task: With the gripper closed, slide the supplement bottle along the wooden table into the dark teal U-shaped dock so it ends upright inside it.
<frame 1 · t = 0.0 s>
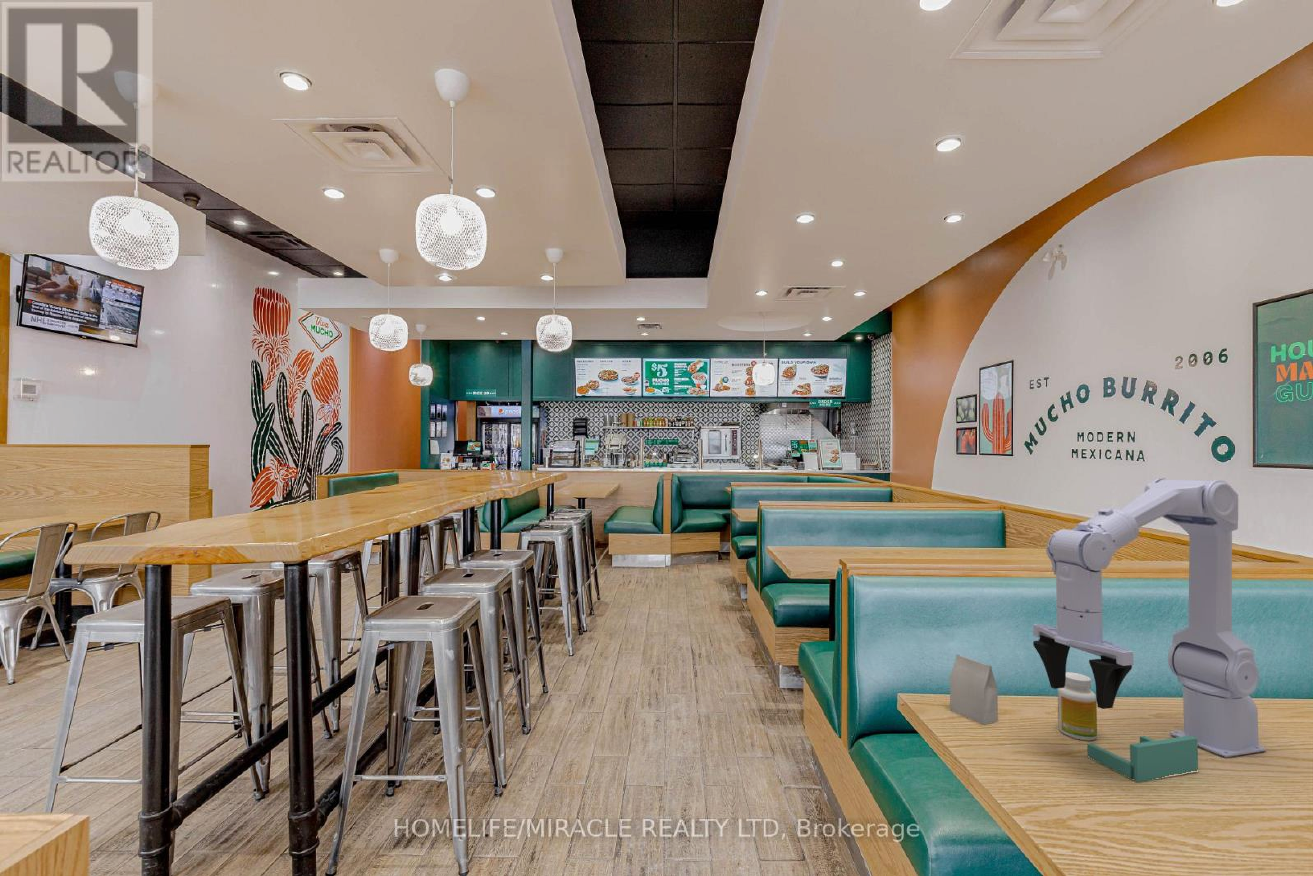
hand: (1080, 697, 89), 10 cm above the table, tool pointing down, fingers open, 7 cm apart
tea bag: (973, 717, 105), on the table
dock: (1139, 763, 89), on the table
supplement bottle: (1077, 735, 98), on the table
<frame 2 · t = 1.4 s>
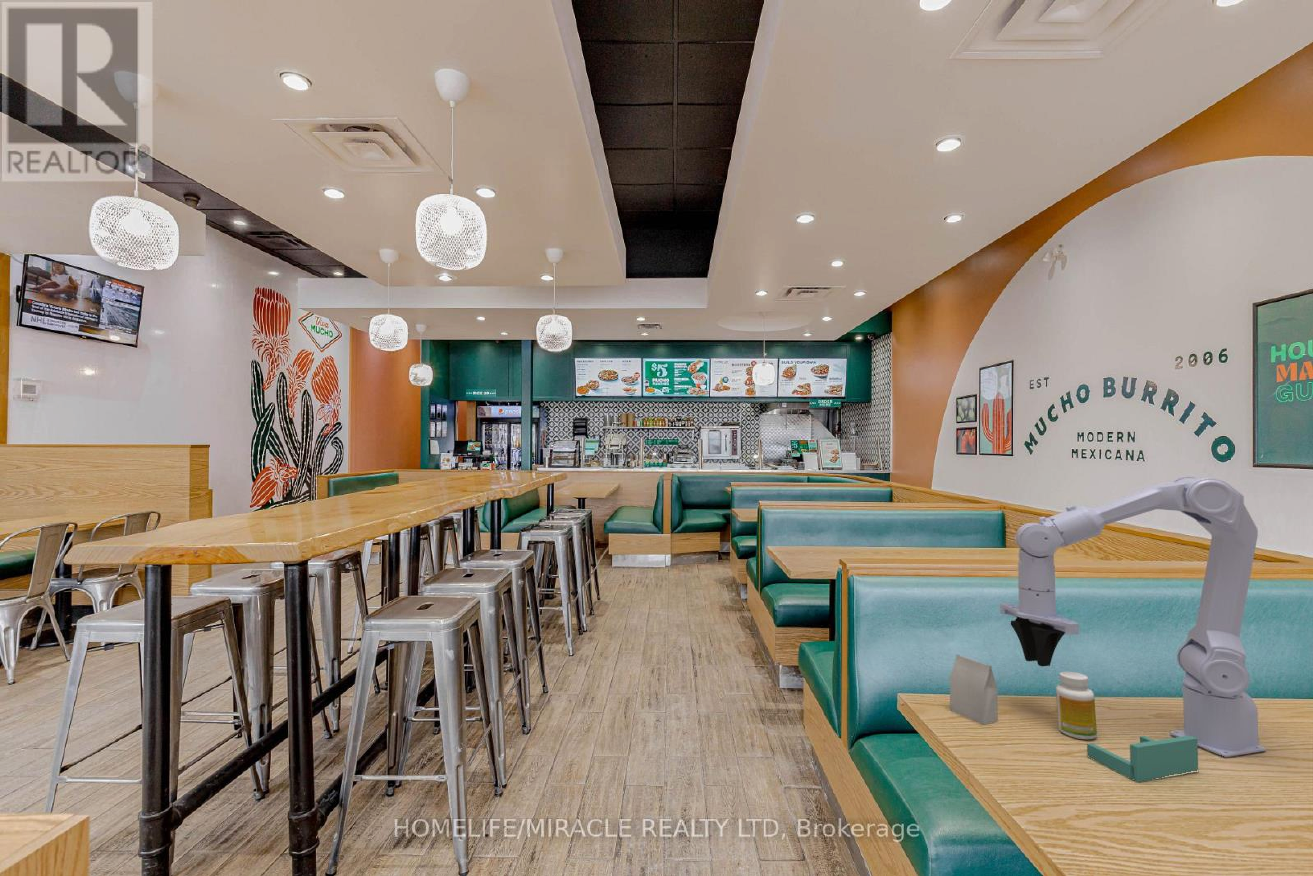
hand: (1037, 663, 106), 9 cm above the table, tool pointing down, fingers closed
nothing on the table moved.
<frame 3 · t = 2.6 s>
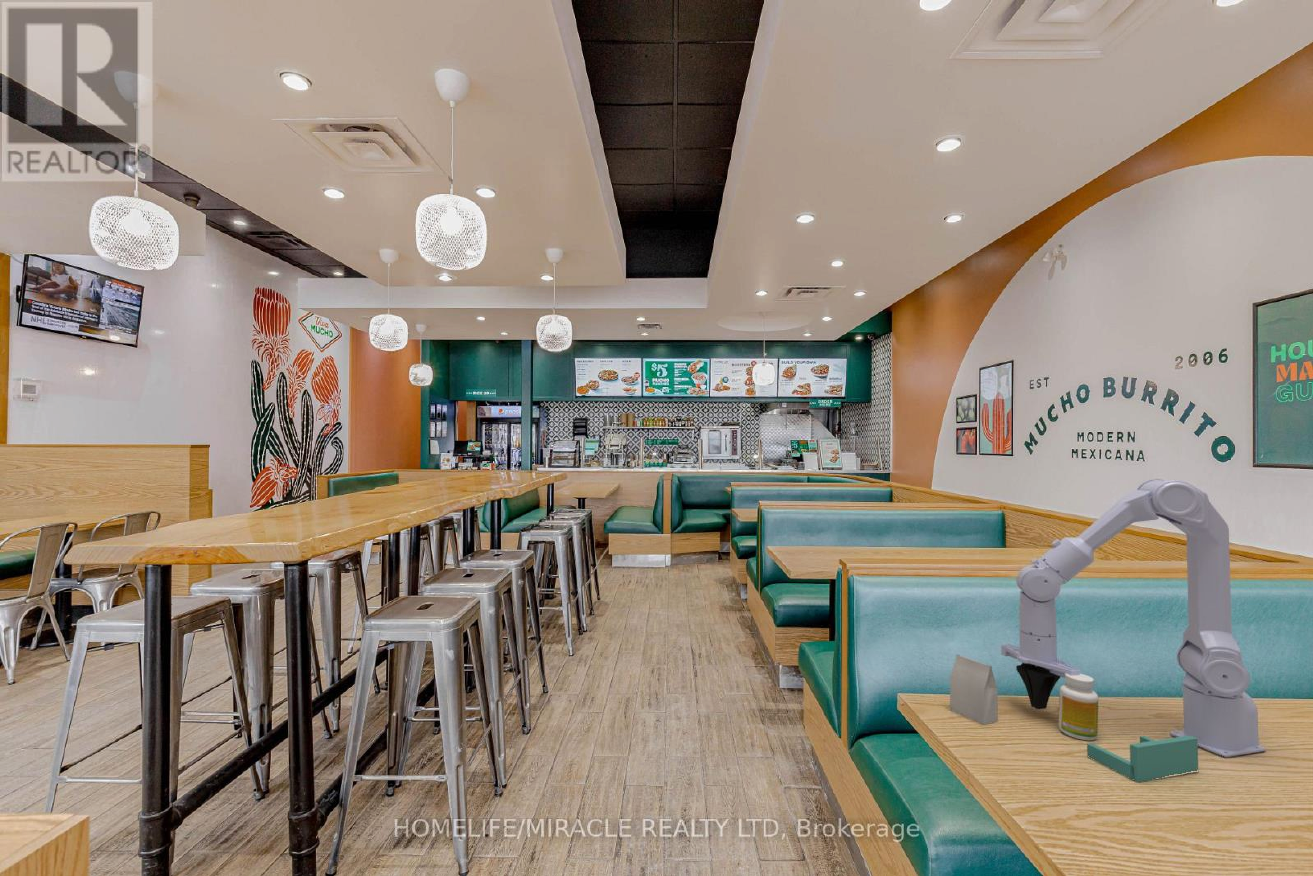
hand: (1038, 707, 106), 1 cm above the table, tool pointing down, fingers closed
nothing on the table moved.
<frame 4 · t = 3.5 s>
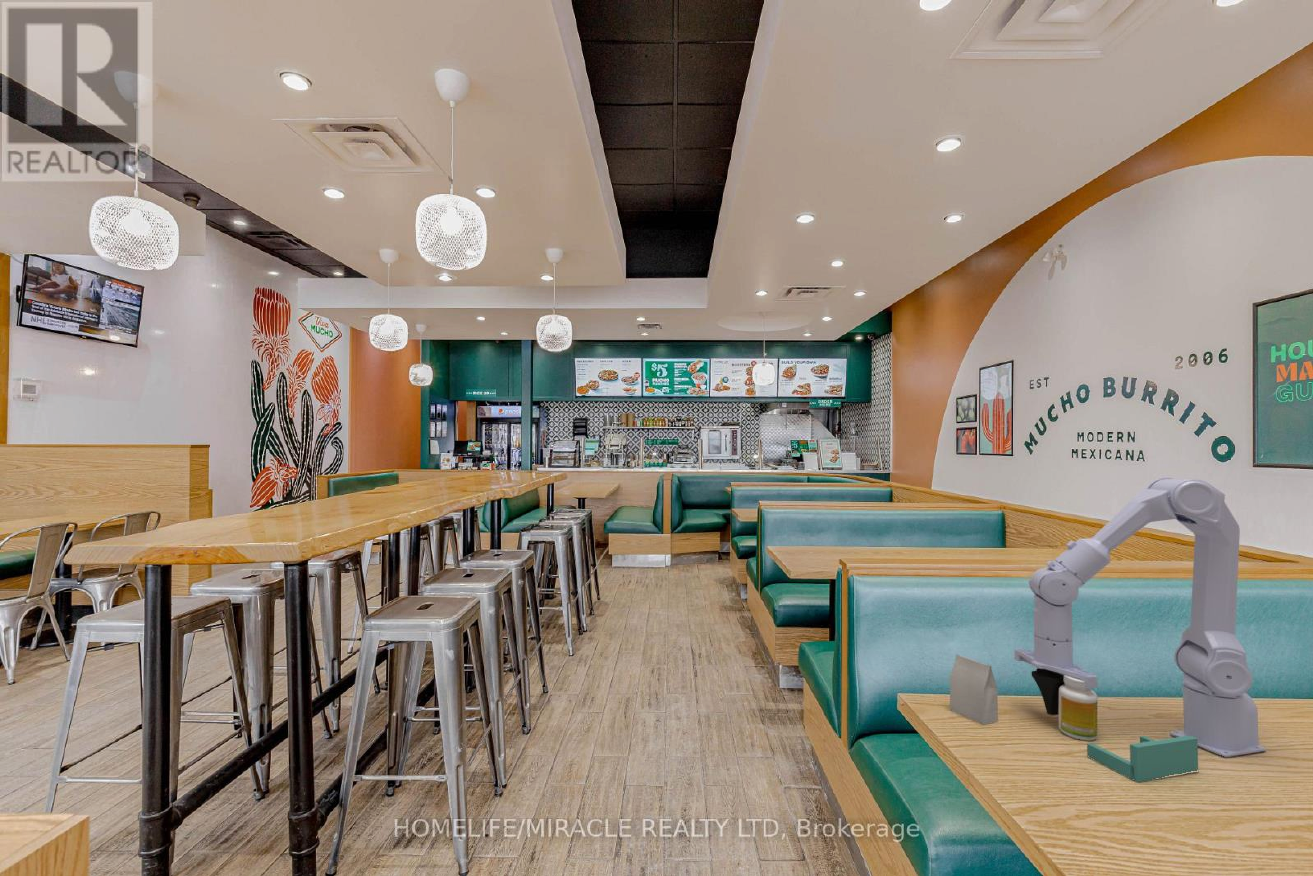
hand: (1053, 714, 103), 1 cm above the table, tool pointing down, fingers closed
supplement bottle: (1077, 734, 98), on the table, touching gripper
everything else where it was.
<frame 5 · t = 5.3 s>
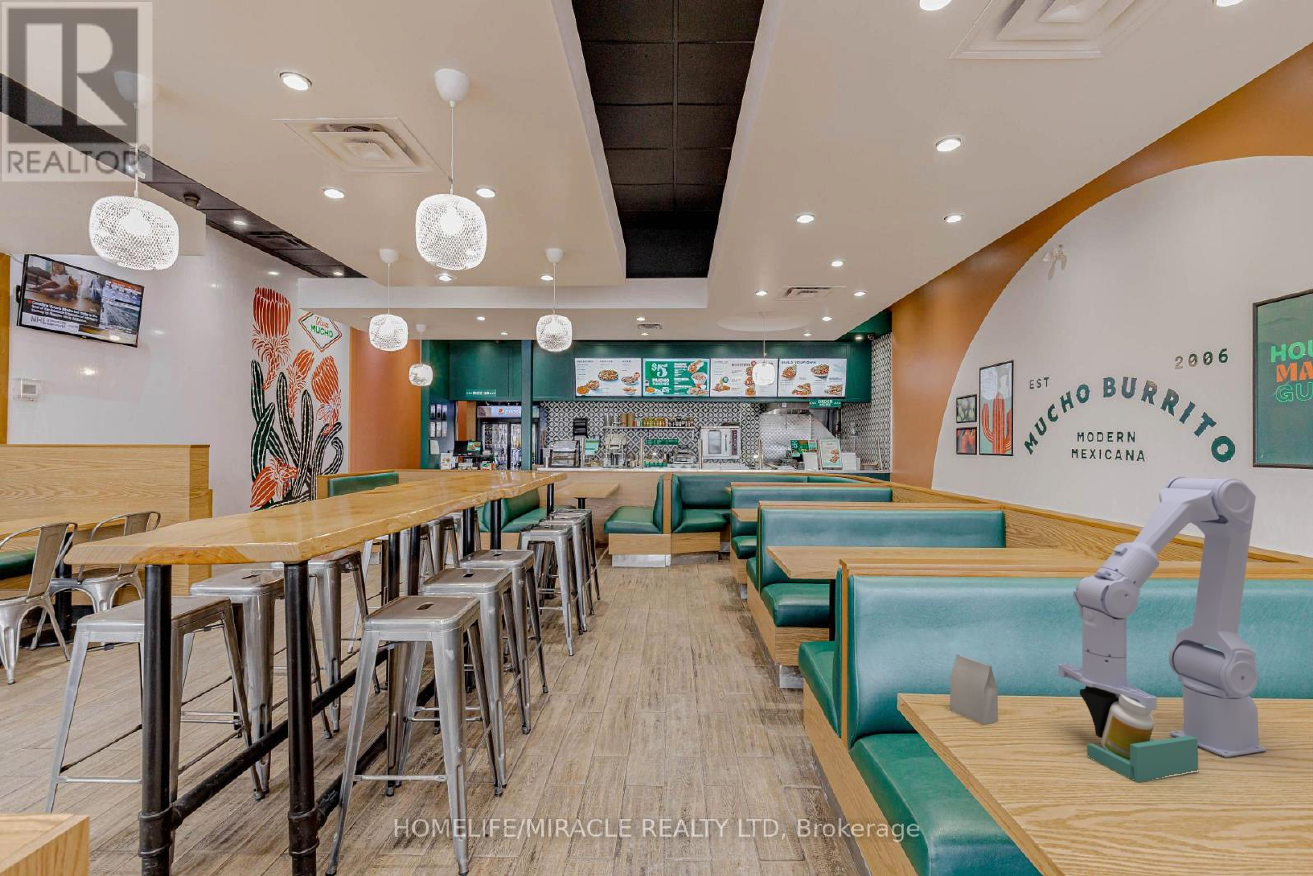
hand: (1103, 736, 94), 2 cm above the table, tool pointing down, fingers closed, pressing on supplement bottle
supplement bottle: (1121, 752, 91), point 1 cm above the table, touching gripper
everything else where it was.
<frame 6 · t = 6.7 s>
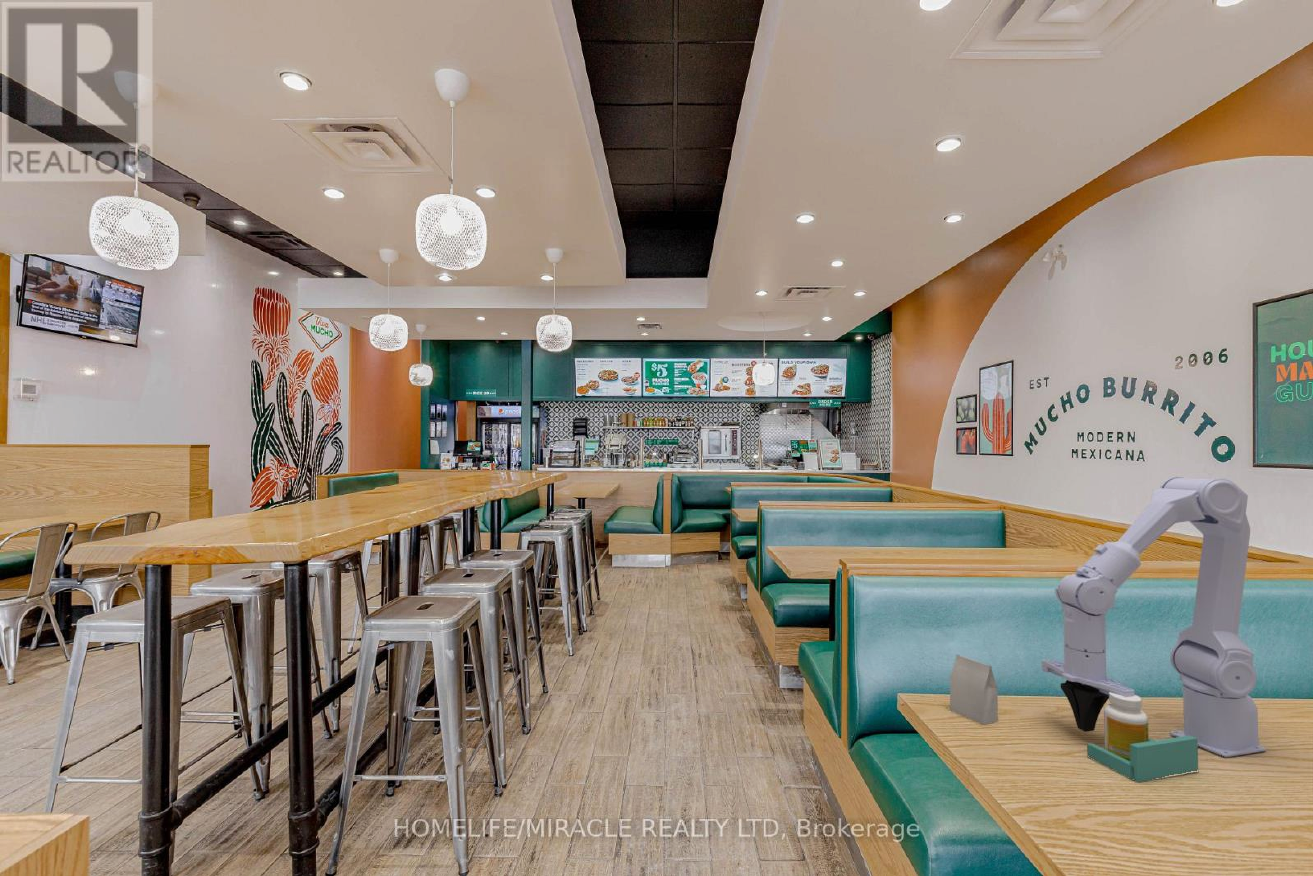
hand: (1085, 729, 97), 1 cm above the table, tool pointing down, fingers closed
supplement bottle: (1126, 759, 90), on the table
everything else where it was.
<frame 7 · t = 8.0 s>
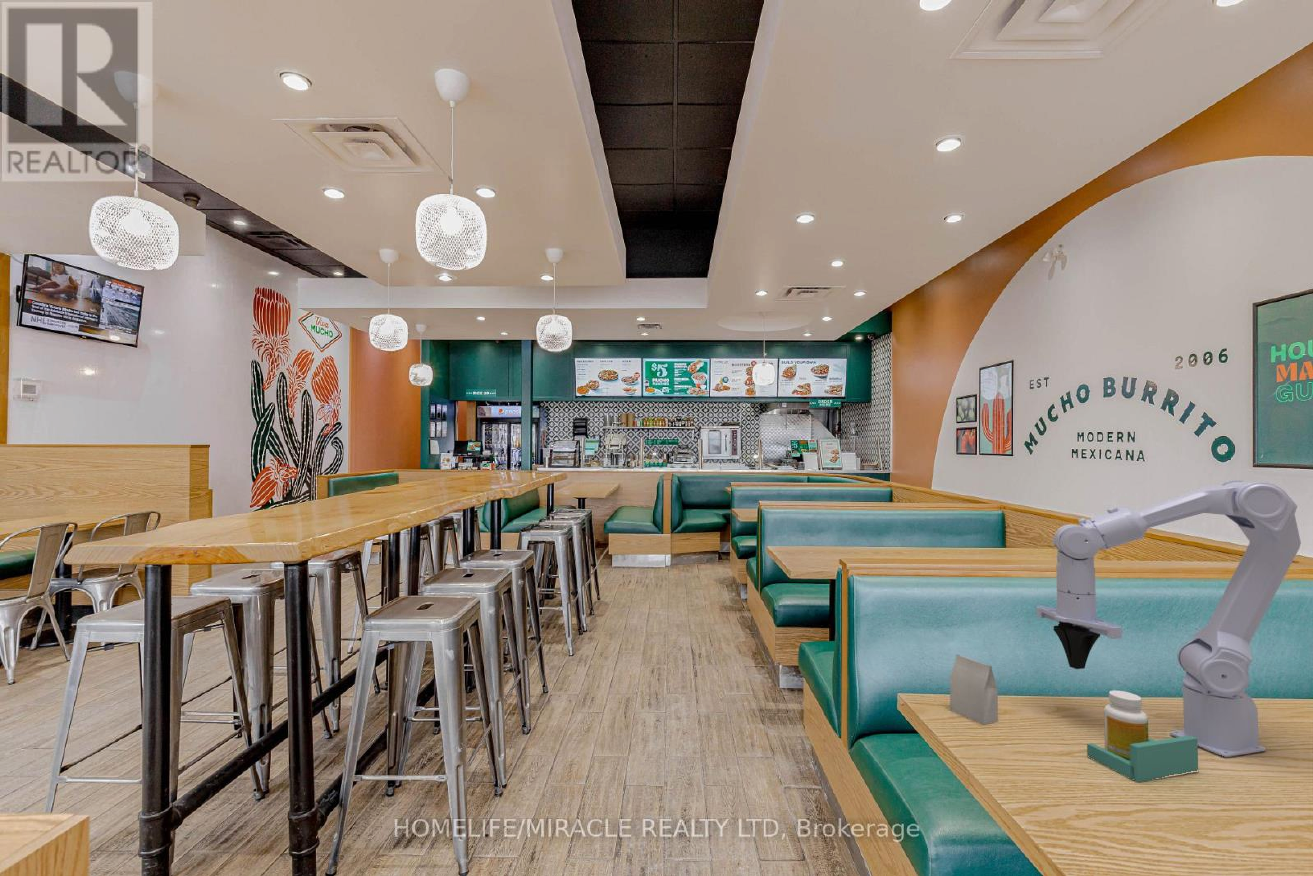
hand: (1077, 667, 104), 9 cm above the table, tool pointing down, fingers closed
nothing on the table moved.
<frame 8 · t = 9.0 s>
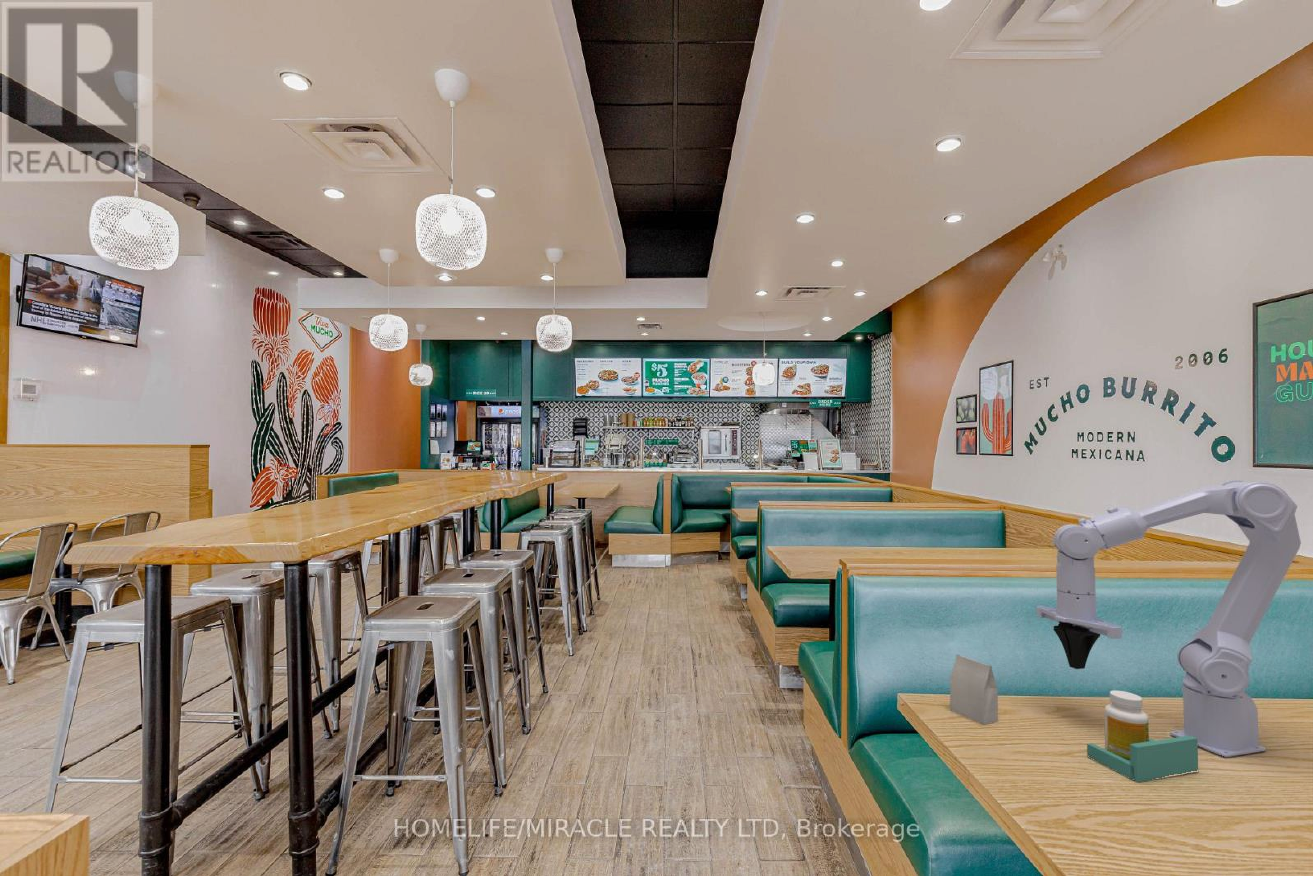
hand: (1077, 667, 104), 9 cm above the table, tool pointing down, fingers closed
nothing on the table moved.
at the end: supplement bottle 1.5 cm off-centre on the dock, point 0.0 cm above the dock's base; supplement bottle tilted 1°; supplement bottle moved 8.3 cm from its start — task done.
